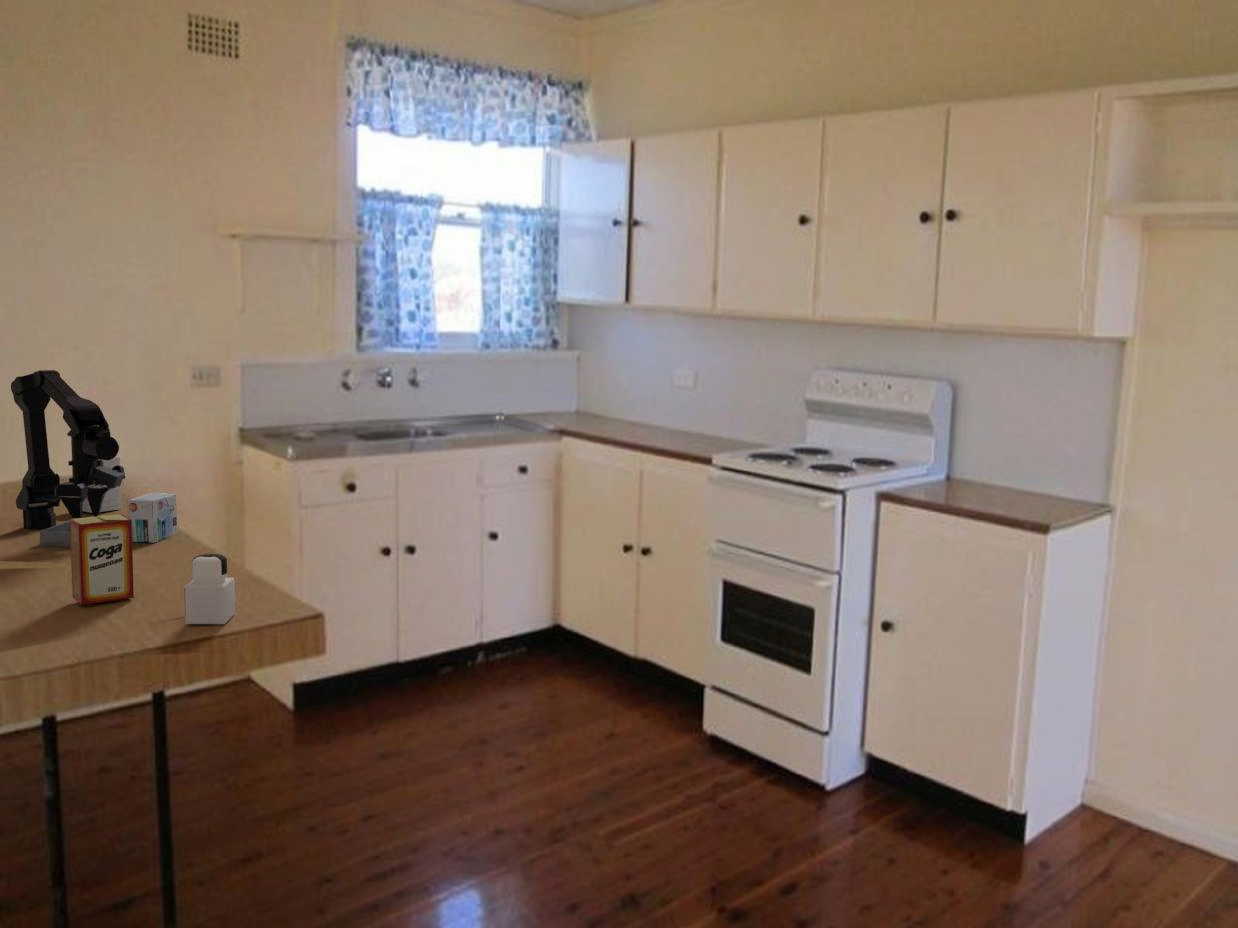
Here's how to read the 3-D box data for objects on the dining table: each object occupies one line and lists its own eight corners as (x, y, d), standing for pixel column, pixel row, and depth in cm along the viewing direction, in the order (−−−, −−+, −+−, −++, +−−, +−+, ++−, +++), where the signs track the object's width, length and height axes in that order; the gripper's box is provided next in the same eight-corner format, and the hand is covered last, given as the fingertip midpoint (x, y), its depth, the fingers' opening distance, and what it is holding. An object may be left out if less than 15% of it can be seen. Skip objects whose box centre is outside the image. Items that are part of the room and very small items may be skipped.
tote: (40, 546, 254) (39, 531, 254) (71, 533, 269) (71, 519, 269) (105, 547, 254) (104, 533, 254) (133, 534, 270) (132, 521, 269)
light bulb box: (178, 534, 271) (155, 543, 261) (153, 533, 272) (129, 543, 261) (176, 492, 270) (152, 500, 259) (150, 491, 270) (126, 499, 260)
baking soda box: (81, 604, 206) (78, 522, 204) (72, 597, 211) (69, 517, 209) (133, 597, 212) (131, 517, 210) (123, 590, 217) (121, 512, 215)
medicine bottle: (196, 613, 203) (195, 551, 201) (235, 614, 203) (234, 551, 202) (184, 624, 196) (183, 559, 194) (225, 624, 196) (223, 560, 195)
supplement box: (122, 509, 303) (121, 456, 301) (92, 513, 295) (90, 459, 293) (103, 505, 307) (102, 453, 305) (73, 509, 300) (71, 456, 298)
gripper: (100, 462, 250) (103, 528, 252) (135, 452, 269) (137, 514, 271) (52, 460, 250) (54, 527, 252) (90, 451, 268) (92, 512, 270)
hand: (87, 520), depth 261 cm, fingers open, 9 cm apart
